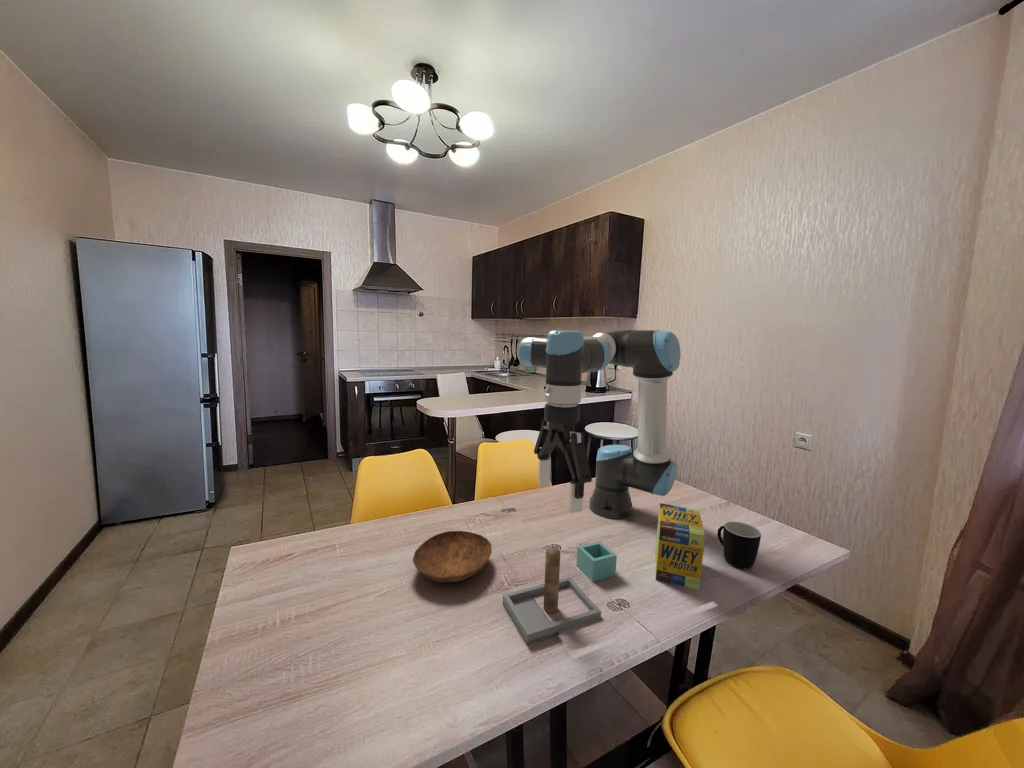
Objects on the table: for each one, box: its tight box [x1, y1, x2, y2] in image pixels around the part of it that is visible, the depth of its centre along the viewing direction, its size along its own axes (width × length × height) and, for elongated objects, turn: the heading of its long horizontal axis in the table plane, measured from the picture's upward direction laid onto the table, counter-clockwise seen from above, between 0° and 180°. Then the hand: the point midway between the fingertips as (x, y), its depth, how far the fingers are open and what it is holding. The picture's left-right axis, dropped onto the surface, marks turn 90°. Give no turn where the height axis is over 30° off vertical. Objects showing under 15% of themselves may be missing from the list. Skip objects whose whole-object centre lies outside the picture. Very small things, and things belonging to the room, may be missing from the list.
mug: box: [716, 520, 762, 570], centre depth 111 cm, size 12×9×10 cm
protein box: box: [654, 502, 706, 591], centre depth 105 cm, size 10×15×16 cm
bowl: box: [412, 530, 493, 583], centre depth 104 cm, size 20×22×5 cm
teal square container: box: [575, 540, 618, 583], centre depth 103 cm, size 7×7×7 cm
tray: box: [502, 576, 602, 646], centre depth 89 cm, size 13×18×2 cm
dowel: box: [543, 547, 561, 615], centre depth 88 cm, size 3×3×14 cm
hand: (558, 498), depth 87 cm, fingers open, 13 cm apart
